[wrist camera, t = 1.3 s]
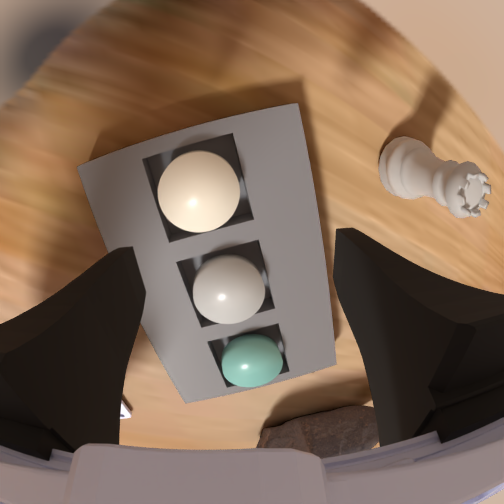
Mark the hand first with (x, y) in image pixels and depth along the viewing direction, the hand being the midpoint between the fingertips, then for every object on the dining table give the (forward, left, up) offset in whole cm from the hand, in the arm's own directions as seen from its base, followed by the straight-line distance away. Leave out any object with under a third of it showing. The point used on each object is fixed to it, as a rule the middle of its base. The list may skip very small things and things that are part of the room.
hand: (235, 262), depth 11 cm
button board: (-1, -5, -10) cm, 11 cm away
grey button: (-1, -5, -8) cm, 10 cm away
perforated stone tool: (+3, -26, -10) cm, 28 cm away
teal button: (-1, -12, -8) cm, 14 cm away
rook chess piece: (+13, -1, -10) cm, 16 cm away
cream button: (-1, +1, -8) cm, 8 cm away
